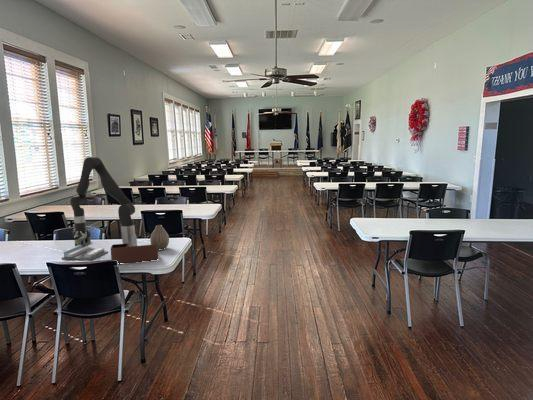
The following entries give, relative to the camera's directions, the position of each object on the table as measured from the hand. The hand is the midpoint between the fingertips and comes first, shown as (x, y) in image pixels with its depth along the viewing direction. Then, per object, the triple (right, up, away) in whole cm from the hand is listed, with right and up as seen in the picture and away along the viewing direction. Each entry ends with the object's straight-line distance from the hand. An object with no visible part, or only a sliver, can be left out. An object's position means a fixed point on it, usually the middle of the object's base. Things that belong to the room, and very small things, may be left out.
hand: (81, 242), depth 273 cm
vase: (+63, -4, -11) cm, 64 cm away
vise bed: (+15, -6, -24) cm, 29 cm away
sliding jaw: (+8, -5, -23) cm, 25 cm away
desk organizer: (+54, -8, -36) cm, 66 cm away
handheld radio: (-1, -3, +1) cm, 3 cm away
